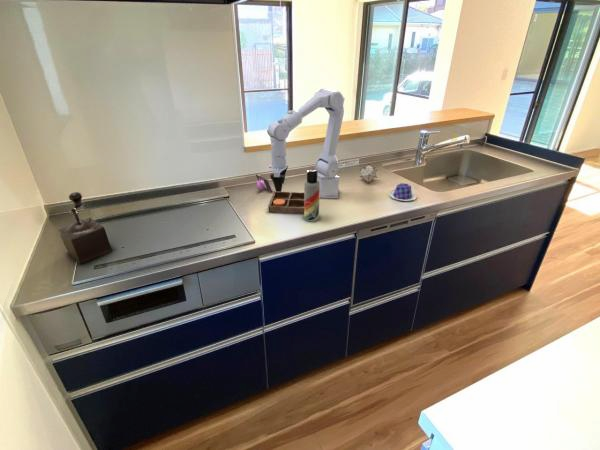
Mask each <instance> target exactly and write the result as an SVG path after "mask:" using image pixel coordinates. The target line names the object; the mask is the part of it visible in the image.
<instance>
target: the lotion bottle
mask: <svg viewBox="0 0 600 450" xmlns="http://www.w3.org/2000/svg"><path fill="white" fill-rule="evenodd" d="M303 186H304V187H303V188H304V189H303V192H304V214H303V217H304V220H305V221H307V222H317V221H319V218H320V198H319V192H320V183H319V181H318V174H317V170H315V169H309V170H306V180H305V181H304V185H303Z"/></svg>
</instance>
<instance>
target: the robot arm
mask: <svg viewBox="0 0 600 450" xmlns="http://www.w3.org/2000/svg"><path fill="white" fill-rule="evenodd" d="M344 103H345V97H344V95H343V94H342V93H341V91H338V90H336V91H335V90H331V89H327V88H320V89H319V90H318V91H316V92H314V95H313V96H312V97H311V98H310V99H308V101H306V102H305V103H304V104H303V105H302V106H300V107H299V108H298V109H297V110H295V109H292V110H291V109H290V110H288V111H287V113H286V114H285V115H283V116H282V117H281V118H278V119H277V121H272V122H271V123H270V124H269V125H268V128H267V130H266V132H267V135H268V136H269V139H270V153H271V154H270V155H271V164H269V165H268V168H270V169H271V170H272V171H273V173H270V175H269V178H270V179H271V181H272V183H273V186H274V191H278V192H282V190H283V185H284V184H285V181H286V173H287V170H288V168H289V165H287V138H288V137H289V134H290V133H291V131H293V130H294V129H295V128H297V127H298V126H299V125H301V124H302V123H303V118H305V117H307V116H308V115H310V114H311V113H313V112H314V111H316V110H317V109H318V108H324V109H325V111H326V112H327V113H328V115H329V117H328V121H327V127H326V132H325V136H324V137H325V138H324V142H323V147H322V152H321V153H320V154H318V156H317V160H316V162H315V164H314V170H317V181H319V183H320V192H319V199H321V198H322V199H338V198H339V192H340V188H339V185H340V184H339V183H340V176H339V175H338V174H339V162H340V161H339V160H338V157H337V155H336V153H337V149H338V144H339V139H340V135H341V134H340V133H341V129H342V124H343V118H344V114H345V110H344V109H345V108H344Z"/></svg>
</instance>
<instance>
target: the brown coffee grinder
mask: <svg viewBox="0 0 600 450" xmlns="http://www.w3.org/2000/svg"><path fill="white" fill-rule="evenodd" d="M82 198H83V194H82V193H81V192H79V191H74V192H71V193H70V194H69V195H68V199H69V201H71V202H72V203H73V207H71V208H70V209H69V210H68V213H69V215H72V216H74V218H75V222H74V223H72V224H69V225H66V226H64V227H61V228H58V229H57V230H58V234H59V236H60V238H61V240H62V243H63V245H64V247H65V249H66V252H67V254H68V255H69V256H70V257H71V258H72V259H73V260H74V261H75V262H77V263H78V264H80V265H82V264H85V263H88V262H90V261H92V260H95V259H97V258H100V257H102V256H104V255H106V254H108V253H111V252H112V251H113V249H112V246H111V244H110V240H109V237H108V234H107V232H106V231H107V230H106V228H105V227H104V226H103V225H101V223H99V222H98V221H97V220H95V219H93V218H92V217H88V218H85V219H81V220H80V217H79V215H78V214H79V212H78V211H77V209H79V208H81V207H82V206H83V205H84V202H83V201H82Z"/></svg>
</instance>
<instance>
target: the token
mask: <svg viewBox="0 0 600 450" xmlns="http://www.w3.org/2000/svg"><path fill="white" fill-rule="evenodd" d="M273 206H283V207H285V201H284V200H282V199H276V200H274V201H273Z"/></svg>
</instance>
